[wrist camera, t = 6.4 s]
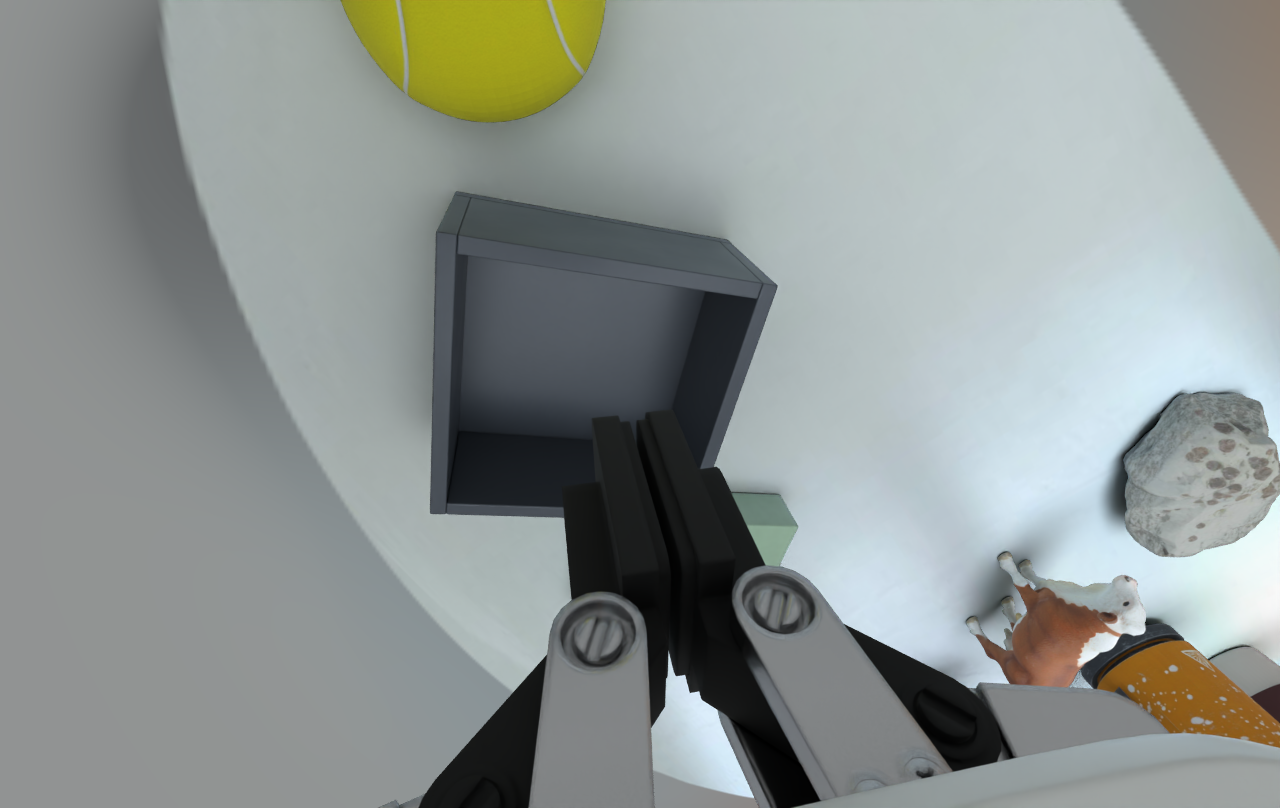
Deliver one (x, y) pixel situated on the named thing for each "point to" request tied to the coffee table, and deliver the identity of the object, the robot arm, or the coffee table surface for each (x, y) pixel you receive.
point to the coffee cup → (1253, 676)
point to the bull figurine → (1060, 625)
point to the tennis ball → (480, 51)
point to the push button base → (767, 524)
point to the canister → (1179, 687)
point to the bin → (575, 346)
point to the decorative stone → (1201, 475)
